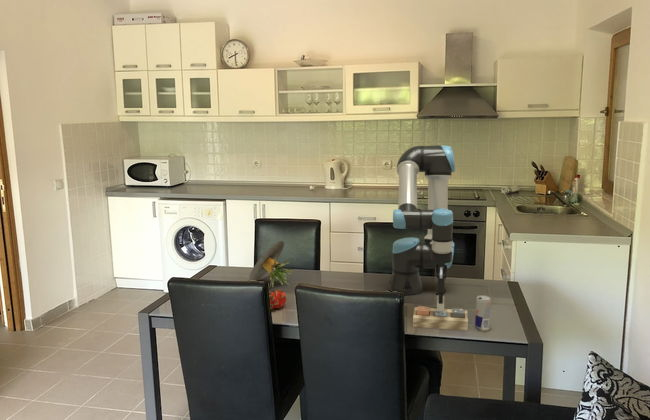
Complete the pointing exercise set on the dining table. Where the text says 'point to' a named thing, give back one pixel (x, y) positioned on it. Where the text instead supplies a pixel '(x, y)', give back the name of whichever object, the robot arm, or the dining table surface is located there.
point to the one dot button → (423, 310)
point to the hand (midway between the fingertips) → (440, 310)
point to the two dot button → (457, 313)
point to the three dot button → (440, 313)
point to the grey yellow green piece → (270, 265)
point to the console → (440, 320)
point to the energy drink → (483, 313)
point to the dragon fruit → (277, 299)
